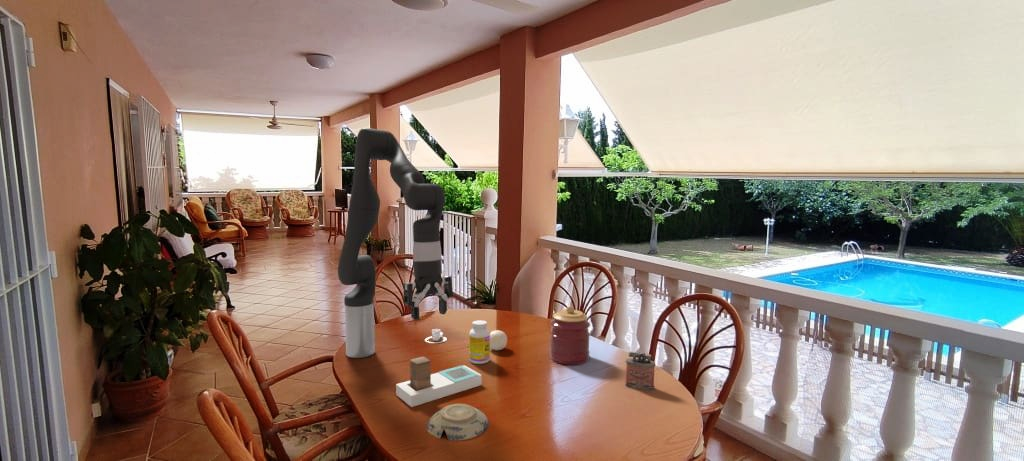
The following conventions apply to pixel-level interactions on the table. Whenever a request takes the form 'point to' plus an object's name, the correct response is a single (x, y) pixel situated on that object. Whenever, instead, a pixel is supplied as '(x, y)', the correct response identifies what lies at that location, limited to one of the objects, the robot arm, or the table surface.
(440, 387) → the socket rail
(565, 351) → the canister
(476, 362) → the supplement bottle
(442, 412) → the decorative bowl
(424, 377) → the walnut peg
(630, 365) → the lighter
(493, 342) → the baseball
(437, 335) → the teacup and saucer
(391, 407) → the table surface
